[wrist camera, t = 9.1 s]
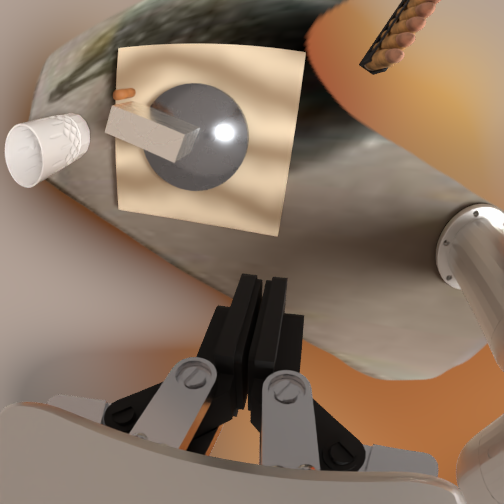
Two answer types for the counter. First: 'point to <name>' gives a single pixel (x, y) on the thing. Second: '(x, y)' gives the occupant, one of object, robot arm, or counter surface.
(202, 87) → the dial
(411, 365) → the counter surface
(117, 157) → the dial panel
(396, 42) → the ammunition clip
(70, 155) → the white cup
